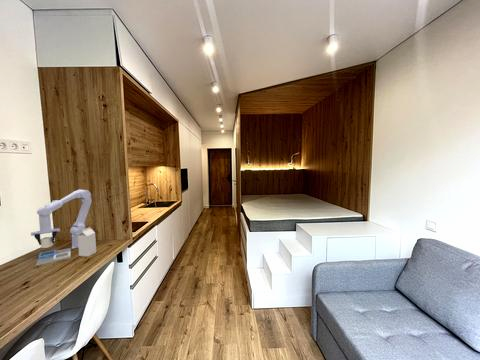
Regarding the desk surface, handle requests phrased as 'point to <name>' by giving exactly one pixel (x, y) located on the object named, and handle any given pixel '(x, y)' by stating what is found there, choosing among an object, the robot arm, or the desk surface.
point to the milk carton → (87, 242)
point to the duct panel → (55, 256)
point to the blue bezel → (47, 255)
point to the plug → (46, 242)
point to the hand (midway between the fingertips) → (46, 243)
